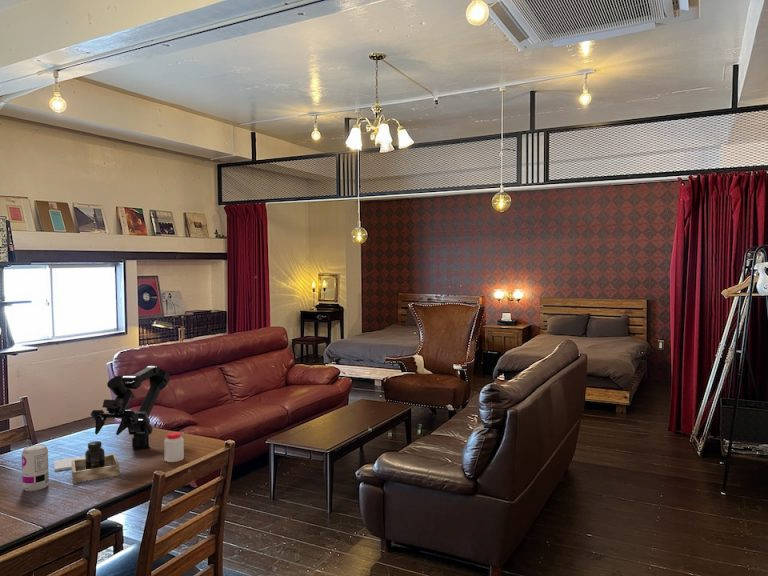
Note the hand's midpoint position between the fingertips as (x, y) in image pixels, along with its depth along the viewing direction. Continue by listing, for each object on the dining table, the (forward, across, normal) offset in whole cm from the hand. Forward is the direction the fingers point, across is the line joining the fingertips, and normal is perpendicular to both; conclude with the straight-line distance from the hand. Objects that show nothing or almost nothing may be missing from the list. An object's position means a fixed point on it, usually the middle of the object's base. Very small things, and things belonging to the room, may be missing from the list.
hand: (106, 434), depth 232 cm
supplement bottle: (+15, 0, +4) cm, 15 cm away
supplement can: (+27, -12, -8) cm, 30 cm away
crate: (+15, 0, +4) cm, 15 cm away
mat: (+9, -16, +10) cm, 21 cm away
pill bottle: (+1, +23, +18) cm, 29 cm away
